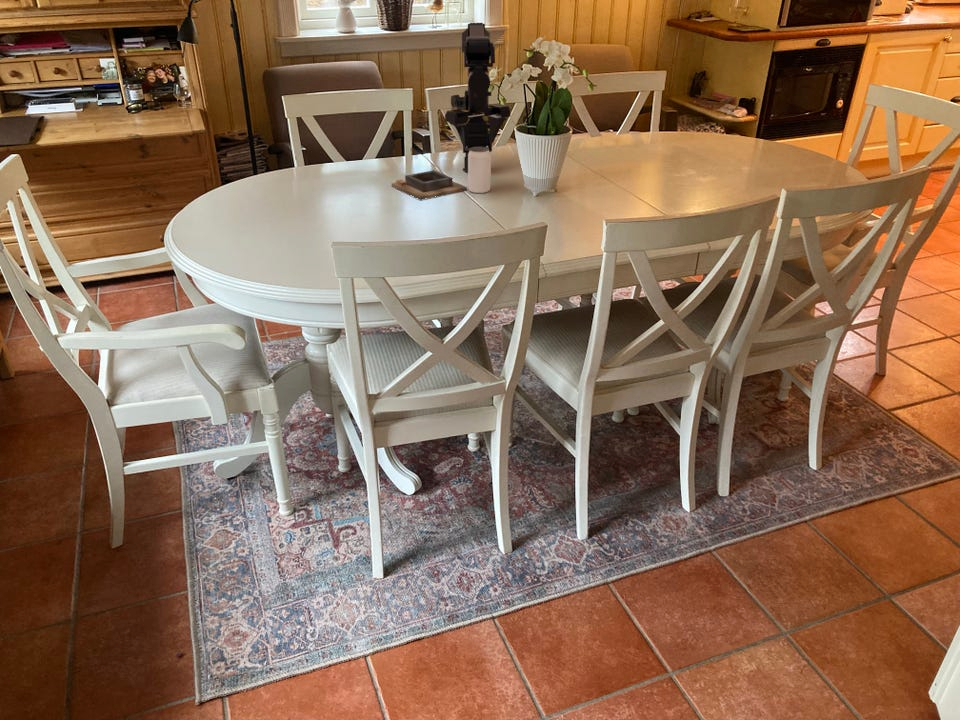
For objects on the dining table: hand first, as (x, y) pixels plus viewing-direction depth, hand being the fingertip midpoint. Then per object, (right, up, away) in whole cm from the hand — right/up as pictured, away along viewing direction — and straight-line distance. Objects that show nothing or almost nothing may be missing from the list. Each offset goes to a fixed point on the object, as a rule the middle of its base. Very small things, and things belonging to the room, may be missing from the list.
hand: (478, 145), depth 213 cm
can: (0, -12, +7) cm, 13 cm away
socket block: (-14, -10, +8) cm, 20 cm away
